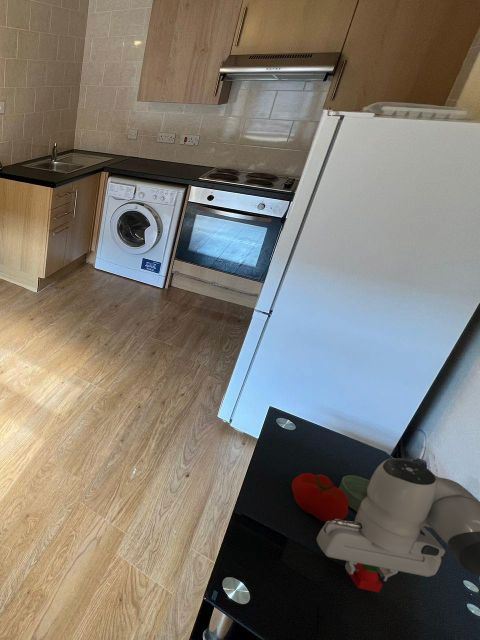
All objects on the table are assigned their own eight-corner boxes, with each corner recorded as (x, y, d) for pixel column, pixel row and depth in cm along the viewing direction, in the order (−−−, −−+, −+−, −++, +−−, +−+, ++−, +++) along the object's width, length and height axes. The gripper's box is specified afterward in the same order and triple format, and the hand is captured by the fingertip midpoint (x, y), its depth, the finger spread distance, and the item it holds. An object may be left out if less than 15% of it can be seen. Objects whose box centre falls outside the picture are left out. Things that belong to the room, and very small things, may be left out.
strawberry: (366, 574, 92) (373, 558, 91) (379, 592, 88) (386, 576, 87) (345, 569, 93) (352, 554, 91) (357, 588, 89) (364, 572, 88)
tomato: (338, 537, 103) (349, 510, 100) (282, 504, 112) (291, 478, 109) (347, 513, 110) (357, 488, 107) (293, 484, 118) (301, 460, 116)
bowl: (372, 491, 117) (377, 479, 115) (402, 526, 106) (408, 513, 105) (328, 483, 119) (333, 472, 118) (353, 517, 109) (358, 504, 107)
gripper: (337, 531, 85) (319, 578, 89) (455, 553, 81) (431, 601, 85) (319, 505, 91) (303, 550, 95) (429, 525, 87) (407, 571, 91)
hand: (364, 574), depth 90 cm, fingers closed on strawberry, 4 cm apart
